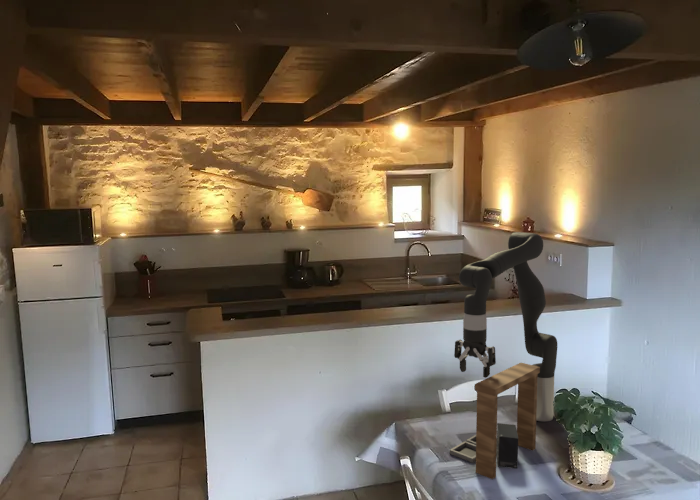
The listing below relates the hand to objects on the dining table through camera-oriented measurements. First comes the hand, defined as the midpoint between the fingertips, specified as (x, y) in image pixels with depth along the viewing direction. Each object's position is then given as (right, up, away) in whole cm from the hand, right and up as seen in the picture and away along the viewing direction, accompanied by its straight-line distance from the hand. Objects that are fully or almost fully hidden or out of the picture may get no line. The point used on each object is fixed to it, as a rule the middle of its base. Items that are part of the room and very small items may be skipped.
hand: (474, 374), depth 185 cm
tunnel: (+10, -28, -2) cm, 30 cm away
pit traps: (+2, -27, +7) cm, 28 cm away
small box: (+10, -28, -1) cm, 30 cm away
